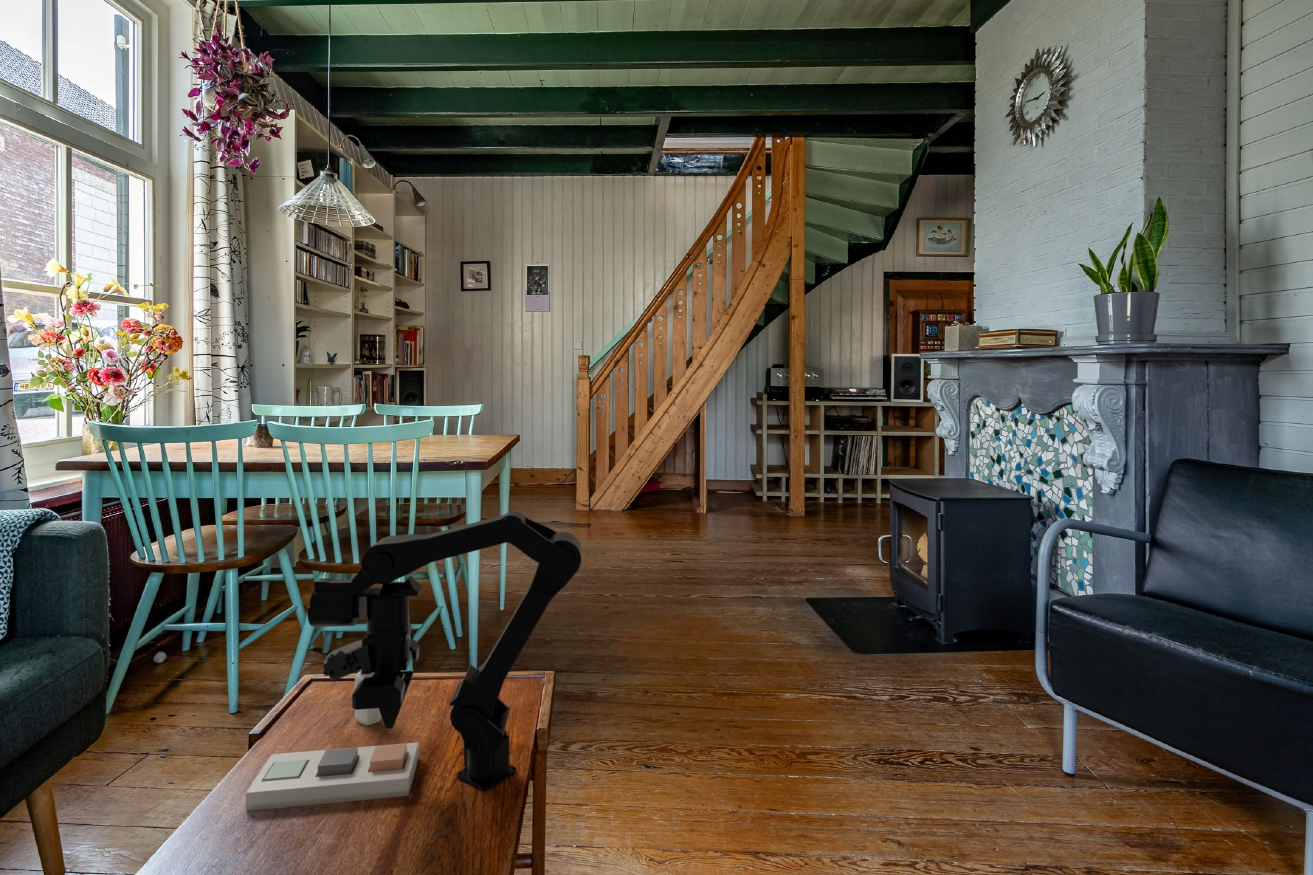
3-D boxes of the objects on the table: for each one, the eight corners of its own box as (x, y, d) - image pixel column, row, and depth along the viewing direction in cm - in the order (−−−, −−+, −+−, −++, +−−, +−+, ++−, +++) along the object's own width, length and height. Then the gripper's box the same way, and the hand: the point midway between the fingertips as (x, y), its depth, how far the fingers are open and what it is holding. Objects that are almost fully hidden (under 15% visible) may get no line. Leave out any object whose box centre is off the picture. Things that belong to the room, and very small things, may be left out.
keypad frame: (418, 758, 106) (418, 742, 106) (408, 795, 97) (408, 777, 96) (272, 770, 102) (271, 754, 102) (246, 811, 92) (245, 792, 92)
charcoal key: (357, 760, 102) (357, 747, 102) (350, 776, 98) (350, 763, 97) (326, 762, 101) (326, 749, 101) (317, 779, 97) (317, 765, 97)
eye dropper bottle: (351, 728, 115) (351, 659, 115) (356, 713, 121) (355, 647, 120) (379, 725, 117) (379, 657, 116) (382, 710, 122) (382, 645, 121)
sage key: (307, 772, 100) (307, 759, 100) (298, 789, 96) (297, 775, 96) (275, 775, 100) (274, 761, 99) (264, 792, 95) (263, 778, 95)
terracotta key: (406, 756, 103) (406, 743, 103) (402, 772, 99) (402, 758, 99) (376, 758, 102) (376, 745, 102) (370, 774, 98) (369, 761, 98)
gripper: (345, 607, 107) (346, 703, 108) (309, 651, 89) (312, 767, 90) (419, 603, 109) (420, 698, 110) (399, 646, 91) (401, 759, 92)
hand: (389, 727), depth 100 cm, fingers closed
